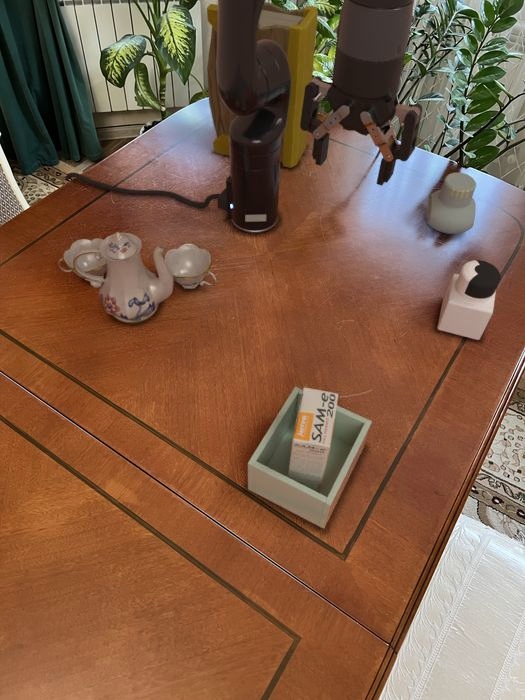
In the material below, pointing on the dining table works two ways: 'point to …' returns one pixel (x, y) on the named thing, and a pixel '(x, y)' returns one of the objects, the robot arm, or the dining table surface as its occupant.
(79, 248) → the chinaware
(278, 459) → the holder
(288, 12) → the decorative book
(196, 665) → the dining table surface
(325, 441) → the supplement box
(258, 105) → the robot arm
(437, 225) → the air freshener
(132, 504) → the dining table surface
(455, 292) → the bust figurine
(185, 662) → the dining table surface
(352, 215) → the dining table surface
